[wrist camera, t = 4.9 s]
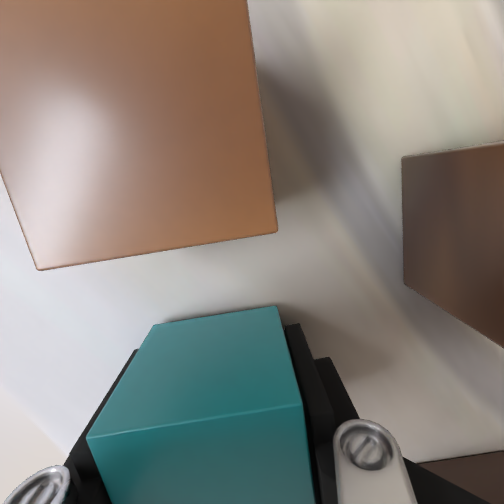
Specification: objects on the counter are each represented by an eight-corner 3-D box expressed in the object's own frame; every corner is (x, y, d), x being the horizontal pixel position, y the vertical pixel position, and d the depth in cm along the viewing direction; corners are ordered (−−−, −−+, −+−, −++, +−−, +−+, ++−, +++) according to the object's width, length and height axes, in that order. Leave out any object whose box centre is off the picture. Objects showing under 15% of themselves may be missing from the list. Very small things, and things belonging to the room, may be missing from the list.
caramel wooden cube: (91, 83, 8) (-77, -26, 4) (240, 57, 8) (236, -81, 4) (132, 229, 9) (35, 272, 5) (262, 208, 9) (279, 233, 5)
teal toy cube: (153, 324, 10) (83, 437, 5) (276, 304, 10) (302, 403, 5) (181, 423, 11) (141, 580, 7) (291, 406, 11) (323, 552, 7)
